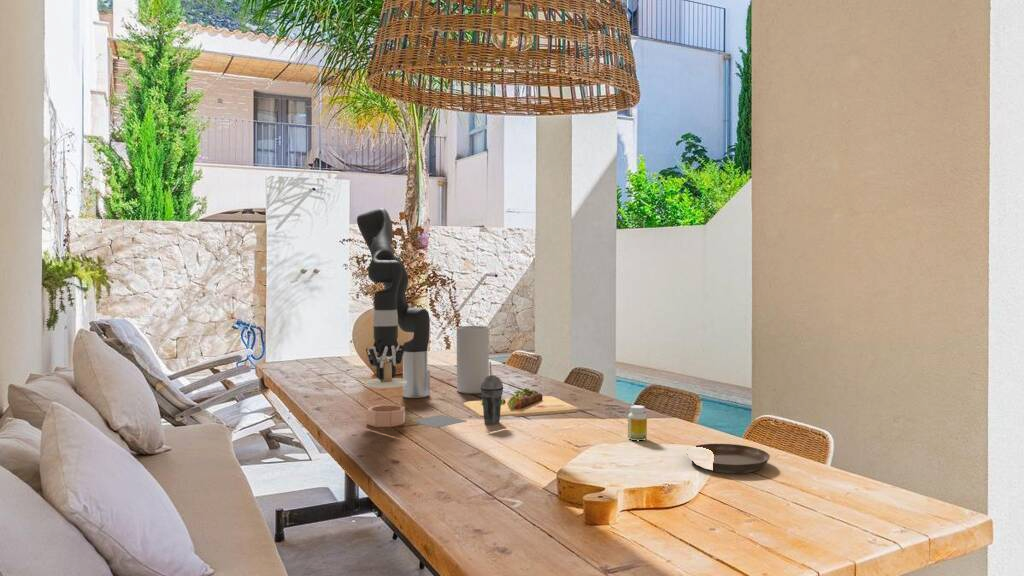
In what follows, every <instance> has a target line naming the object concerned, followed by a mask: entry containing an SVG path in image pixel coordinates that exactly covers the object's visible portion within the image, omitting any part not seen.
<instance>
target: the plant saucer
mask: <svg viewBox="0 0 1024 576" xmlns="http://www.w3.org/2000/svg"><path fill="white" fill-rule="evenodd" d="M695 446H696V447H703V448H706V449H709V450H711V451H712V452H713V454H714V462H713V471H712V472H714V473H720V474H721V473H722V474H731V473H733V474H739V473H740V474H749V472H750V473H754V472H756V471H759V470H760V469H761V468H762V469H763V467H764V466H765V465H767V463H768V462H769V460H770V458H771V456H770V453H769V452H767V451H765V450H763V449H760V448H756V447H753V446H747V445H741V444H735V443H734V444H733V443H731V444H730V443H706V444H705V443H703V444H698V445H695Z"/></svg>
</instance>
